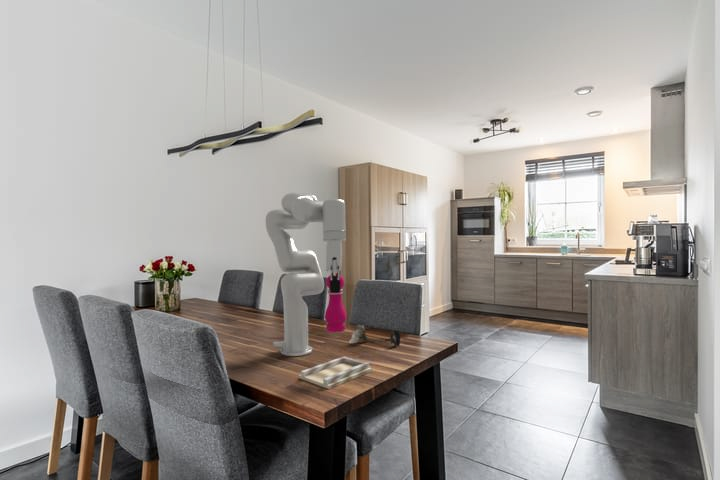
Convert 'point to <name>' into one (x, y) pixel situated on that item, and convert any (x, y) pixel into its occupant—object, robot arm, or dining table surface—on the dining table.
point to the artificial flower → (361, 335)
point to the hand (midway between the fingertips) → (335, 290)
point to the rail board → (335, 372)
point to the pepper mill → (335, 309)
